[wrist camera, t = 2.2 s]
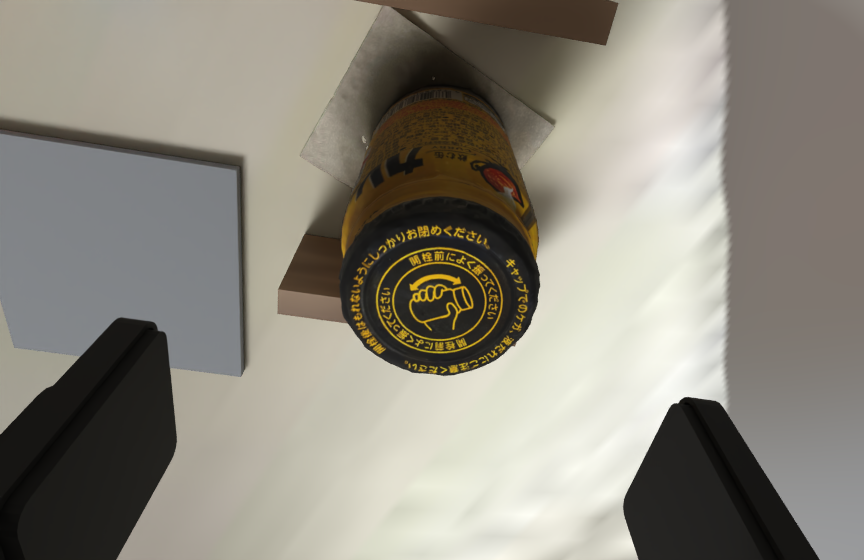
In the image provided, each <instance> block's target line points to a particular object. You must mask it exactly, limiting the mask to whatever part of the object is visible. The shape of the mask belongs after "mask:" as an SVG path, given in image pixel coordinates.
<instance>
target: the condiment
mask: <svg viewBox="0 0 864 560" xmlns="http://www.w3.org/2000/svg"><path fill="white" fill-rule="evenodd" d="M432 77H435V80H432ZM554 128H555V126H553V125H552V124H550V123H549V122H548V121H546V120H545V119H544V118H542V117H541V116H540V115H538V114H537V113H535V112H534V111H533V110H531V109H530V108H529V107H527V106H526V105H525V104H523V103H522V102H521V101H519V100H518V99H516V98H515V97H513V96H512V95H511V94H510V93H508V92H507V91H506V90H504V89H503V88H501V87H500V86H499V85H497V84H496V83H495V82H493V81H492V80H490V79H489V78H488V77H486V76H485V75H484V74H482V73H481V72H479V71H478V70H476V69H475V68H474V67H473V66H471V65H470V64H468V63H467V62H465V61H464V60H462V59H461V58H460V57H458V56H457V55H455V54H454V53H453V52H452V51H450V50H449V49H448V48H446V47H445V46H443V45H442V44H441V43H439V42H438V41H437V40H435V39H434V38H433V37H431V36H430V35H429V34H427V33H426V32H424V31H423V30H422V29H420V28H419V27H417V26H416V25H414V24H413V23H411V22H410V21H409V20H407V19H406V18H405V17H403V16H402V15H401V14H399V13H398V12H396V11H395V10H394V9H392V8H391V7H389V6H383V8H382V9H381V11H380V13H379V15H378V16H377V18H376V20H375V22H374V24H373V26H372V27H371V29H370V31H369V33H368V35H367V36H366V38H365V40H364V42H363V43H362V45H361V47H360V49H359V51H358V52H357V54H356V56H355V58H354V60H353V61H352V63H351V65H350V67H349V69H348V71H347V72H346V74H345V76H344V77H343V79H342V81H341V83H340V85H339V86H338V88H337V90H336V92H335V94H334V96H333V98H332V99H331V101H330V102H329V104H328V106H327V108H326V110H325V112H324V113H323V115H322V117H321V118H320V120H319V122H318V124H317V126H316V127H315V129H314V131H313V133H312V135H311V136H310V138H309V140H308V142H307V143H306V145H305V147H304V149H303V151H302V152H301V154H300V157H302V158H303V159H305V160H307V161H308V162H310V163H311V164H313V165H314V166H316V167H318V168H319V169H321V170H323V171H325V172H327V173H328V174H330V175H332V176H333V177H334V178H336V179H337V180H339V181H340V182H342V183H344V184H346V185H348V186H350V187H351V188H353V190H352V193H351V197H350V200H349V203H348V206H347V209H346V212H345V216H344V219H343V225H342V232H341V247H342V252H343V261H342V267H341V270H340V274H339V280H340V284H339V288H340V299H341V308H342V314H343V317H344V319H345V320H346V321H347V323H348V324H349V325H350V327H351V328H352V329H353V331H354V333H355V334H356V335H357V337H358V338H359V339H360V340H361V341H362V343H363V345H364V347H366V348H367V349H368V350H370V351H371V352H373V353H374V354H375V355H377V356H378V357H380V358H382V359H383V360H385V361H387V362H388V363H390V364H393V365H395V366H398V367H400V368H402V369H405V370H408V371H410V372H412V373H426V374H436V375H442V376H447V375H456V374H459V373H464V372H468V371H471V370H474V369H477V368H480V367H482V366H485V365H487V364H489V363H491V362H493V361H495V360H496V359H498V358H499V357H500V356H502V355H503V354H504V353H505V352H506V351H507V350H508V349H509V348H510V347H511V346H512V345H513V344H515V343H516V342H517V341H518V340H519V339H520V338H521V337H522V336H523V335H524V333H525V332H526V330H527V329H528V327H529V325H530V324H531V320H532V316H533V314H534V312H535V310H536V307H537V303H538V293H539V288H540V281H539V276H540V274H539V270H538V266H537V263H536V257H537V249H538V242H539V237H538V227H537V220H536V218H535V214H534V210H533V207H532V205H531V202H530V199H529V196H528V193H527V190H526V187H525V184H524V181H523V178H522V175H521V172H520V170H521V168H522V167H523V166H524V165H525V164H526V163H527V162H528V160H529V159H530V158H531V157H532V155H533V154H534V153H535V152H536V150H537V149H538V148H539V147H540V145H541V144H542V143H543V142H544V140H545V139H546V138H547V137H548V135H549V134H550V133H551V131H552V130H553V129H554ZM362 136H364V137H365V139H366V143H363V141H362V139H361V138H362ZM366 146H369V147H368V149H367V150H366Z"/></svg>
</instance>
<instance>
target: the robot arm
mask: <svg viewBox="0 0 864 560" xmlns="http://www.w3.org/2000/svg"><path fill="white" fill-rule="evenodd" d="M176 443H177V436H176V425H175V415H174V405H173V394H172V384H171V374H170V363H169V353H168V343H167V336H166V334H165V332H163V331H158V328H157V325H156V324H155V323H154V322H151V321H144V320H137V319H130V318H123V317H120V318H117V319H116V320H115V321H113V322H112V323H111V324H110V326H109V327H108V328H107V329H106V330H105V331H104V332H103V333H102V334H101V335H100V336H99V337H98V338H97V339H96V341H95V342H94V343H93V344H92V345H91V346H90V347H89V348H88V349H87V350H86V351H85V352H84V353H83V354H82V355H81V357H80V358H79V359H78V360H77V361H76V362H75V363H74V364H73V365H72V366H71V367H70V368H69V369H68V370H67V372H66V373H65V374H64V375H63V376H62V377H61V378H60V379H59V380H58V381H57V382H56V383H55V384H54V385H53V386H51V387H48V388H46V389H45V390H44V391H42V392H41V393H40V394H39V395H38V396H37V397H36V398H35V399H34V400H33V401H32V402H31V403H30V404H29V405H28V406H27V407H26V408H25V409H24V410H23V411H22V413H21V414H20V415H19V416H18V417H17V418H16V419H15V420H14V421H13V422H12V423H11V424H10V425H9V426H8V427H7V428H6V429H5V430H4V431H3V433H2V434H1V435H0V560H116V559H117V557H118V556H119V554H120V552H121V550H122V548H123V547H124V545H125V543H126V541H127V539H128V537H129V536H130V534H131V532H132V530H133V528H134V527H135V525H136V523H137V521H138V519H139V518H140V516H141V514H142V512H143V510H144V509H145V507H146V505H147V503H148V501H149V500H150V498H151V496H152V494H153V492H154V491H155V489H156V487H157V485H158V483H159V482H160V480H161V478H162V476H163V474H164V473H165V471H166V469H167V467H168V465H169V464H170V462H171V460H172V458H173V455H174V452H175V449H176ZM623 510H624V516H625V519H626V522H627V526H628V529H629V532H630V535H631V538H632V541H633V544H634V547H635V550H636V553H637V556H638V559H639V560H819V558H818V556H817V555H816V553H815V552H814V550H813V548H812V547H811V546H810V544H809V542H808V541H807V539H806V537H805V536H804V534H803V533H802V531H801V530H800V528H799V527H798V525H797V523H796V522H795V520H794V518H793V517H792V515H791V514H790V512H789V511H788V509H787V508H786V506H785V504H784V503H783V501H782V500H781V498H780V496H779V495H778V493H777V492H776V490H775V489H774V487H773V485H772V484H771V482H770V481H769V479H768V478H767V476H766V474H765V473H764V471H763V470H762V468H761V466H760V465H759V463H758V462H757V460H756V459H755V457H754V455H753V454H752V452H751V451H750V449H749V447H748V446H747V444H746V443H745V442H744V440H743V438H742V436H741V435H740V433H739V432H738V430H737V429H736V427H735V425H734V424H733V422H732V421H731V419H730V417H729V416H728V414H727V413H726V411H725V410H724V408H723V407H722V405H721V404H720V403H718V402H716V401H712V400H705V399H698V398H691V397H684V398H683V399H681V400H680V402H679V403H675V404H673V405H671V407H670V408H669V410H668V412H667V414H666V416H665V418H664V420H663V422H662V424H661V426H660V428H659V430H658V432H657V434H656V436H655V438H654V440H653V442H652V444H651V446H650V448H649V450H648V452H647V454H646V456H645V458H644V460H643V462H642V464H641V466H640V468H639V470H638V472H637V474H636V476H635V478H634V480H633V482H632V483H631V485H630V487H629V489H628V491H627V493H626V496H625V498H624V504H623Z"/></svg>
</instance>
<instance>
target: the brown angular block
mask: <svg viewBox="0 0 864 560" xmlns="http://www.w3.org/2000/svg"><path fill="white" fill-rule="evenodd" d="M356 1H361V2H367V3H372V4H378V5H384V6H389V7H395V8H400V9H406V10H411V11H417V12H422V13H428V14H434V15H439V16H445V17H450V18H456V19H461V20H467V21H472V22H478V23H484V24H489V25H495V26H500V27H506V28H511V29H517V30H522V31H528V32H534V33H539V34H545V35H550V36H556V37H561V38H567V39H572V40H578V41H584V42H589V43H595V44H600V45H606V43H607V39H608V36H609V33H610V29H611V26H612V23H613V20H614V16H615V13H616V10H617V6H618V3H616V2H612V1H609V0H356ZM342 261H343V252H342V247H341V239H334V238H327V237H320V236H314V235H307V234H304V236H303V238H302V241H301V243H300V245H299V247H298V249H297V251H296V253H295V255H294V257H293V259H292V261H291V264H290V266H289V268H288V270H287V272H286V274H285V276H284V278H283V280H282V282H281V284H280V286H279V289H278V314H283V315H290V316H298V317H305V318H312V319H320V320H327V321H334V322H341V323H347V321H346V320H345V319H344V317H343V314H342V308H341V299H340V288H339V284H340V280H339V274H340V270H341V267H342ZM515 345H516V343H515V344H513V345H512V346H515Z"/></svg>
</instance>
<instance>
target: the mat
mask: <svg viewBox="0 0 864 560" xmlns="http://www.w3.org/2000/svg"><path fill="white" fill-rule="evenodd" d="M0 300H1V304H2V307H3V311H4V314H5V318H6V321H7V325H8V328H9V331H10V335H11V338H12V342H13V345H14V348H20V349H28V350H36V351H44V352H51V353H59V354H67V355H75V356H81V355H82V354H83V353H84V352H85V351H86V350H87V349H88V348H89V347H90V346H91V345H92V344H93V343H94V342H95V341H96V339H97V338H98V337H99V336H100V335H101V334H102V333H103V332H104V331H105V330H106V329H107V328H108V327H109V326H110V324H111V323H112V322H113V321H115V320H116V319H117V318H120V317H123V318H130V319H137V320H144V321H151V322H154V323H155V324H156V325H157V328H158V331H163V332H165V334H166V336H167V343H168V353H169V363H170V368H176V369H184V370H191V371H199V372H207V373H215V374H223V375H230V376H238V377H241V376H242V374H243V372H244V348H243V297H242V246H241V195H240V167H239V166H233V165H226V164H220V163H214V162H207V161H201V160H194V159H188V158H182V157H175V156H169V155H162V154H156V153H149V152H143V151H137V150H130V149H124V148H117V147H111V146H104V145H98V144H92V143H85V142H79V141H72V140H66V139H60V138H53V137H47V136H40V135H34V134H27V133H21V132H15V131H8V130H2V129H0Z"/></svg>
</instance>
